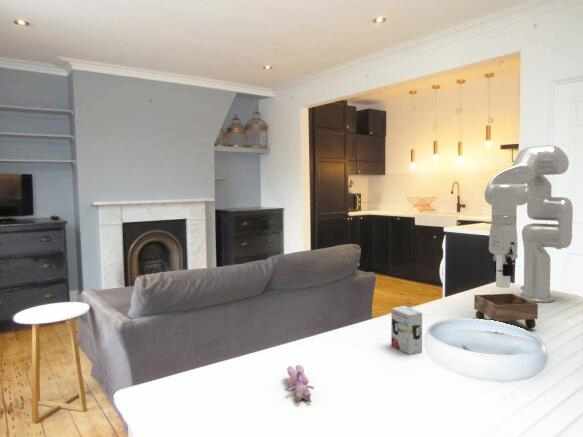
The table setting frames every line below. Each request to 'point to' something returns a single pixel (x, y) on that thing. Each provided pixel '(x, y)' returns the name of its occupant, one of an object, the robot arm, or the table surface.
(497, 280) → the tube
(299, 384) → the rabbit figure
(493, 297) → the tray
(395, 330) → the ink box
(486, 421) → the table surface
